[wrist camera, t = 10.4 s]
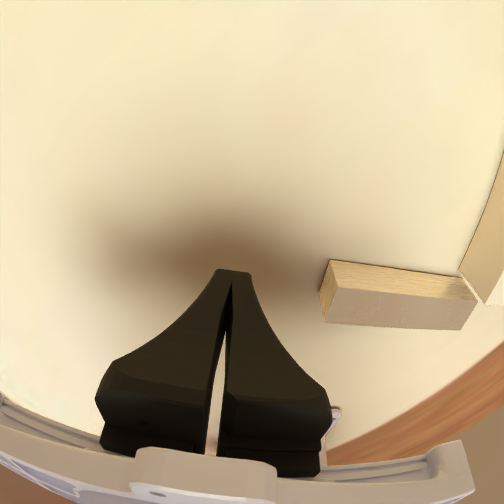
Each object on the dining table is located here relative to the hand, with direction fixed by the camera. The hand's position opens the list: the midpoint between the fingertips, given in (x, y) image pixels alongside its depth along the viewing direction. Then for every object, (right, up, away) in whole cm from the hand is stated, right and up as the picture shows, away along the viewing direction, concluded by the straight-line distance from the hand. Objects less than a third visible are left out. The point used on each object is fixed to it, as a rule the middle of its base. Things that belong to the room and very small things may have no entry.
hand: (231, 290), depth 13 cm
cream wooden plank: (+8, 0, +2) cm, 8 cm away
